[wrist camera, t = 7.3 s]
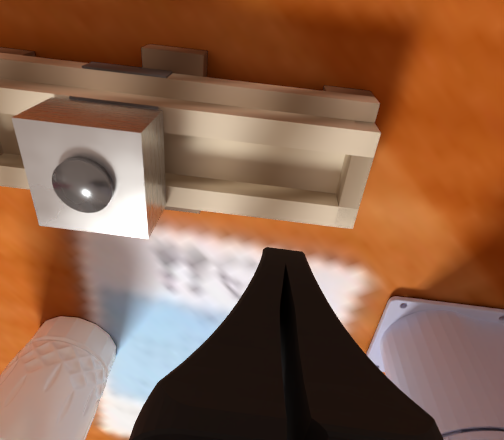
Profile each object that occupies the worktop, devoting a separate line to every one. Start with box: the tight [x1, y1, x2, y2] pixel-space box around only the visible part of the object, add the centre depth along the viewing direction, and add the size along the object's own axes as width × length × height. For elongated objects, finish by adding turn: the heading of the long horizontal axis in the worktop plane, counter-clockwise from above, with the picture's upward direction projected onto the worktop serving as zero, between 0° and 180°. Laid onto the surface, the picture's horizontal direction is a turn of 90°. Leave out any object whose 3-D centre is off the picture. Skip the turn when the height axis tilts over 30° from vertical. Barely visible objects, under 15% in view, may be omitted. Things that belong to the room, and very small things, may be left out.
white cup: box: [0, 316, 116, 440], centre depth 28 cm, size 8×8×10 cm
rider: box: [11, 97, 166, 239], centre depth 17 cm, size 5×5×5 cm
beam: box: [0, 44, 381, 229], centre depth 20 cm, size 20×9×4 cm, turn 85°
